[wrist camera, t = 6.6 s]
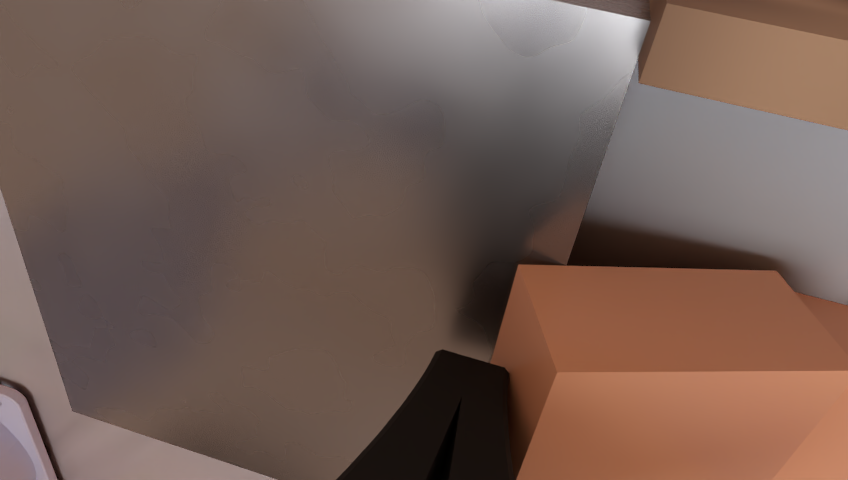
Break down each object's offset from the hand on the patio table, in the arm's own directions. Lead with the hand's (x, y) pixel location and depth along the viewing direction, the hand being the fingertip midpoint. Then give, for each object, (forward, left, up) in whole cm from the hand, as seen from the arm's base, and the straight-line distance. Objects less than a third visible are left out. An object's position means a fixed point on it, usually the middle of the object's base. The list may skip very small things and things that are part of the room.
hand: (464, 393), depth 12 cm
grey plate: (-5, 0, -3) cm, 6 cm away
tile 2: (+3, 0, -2) cm, 3 cm away
